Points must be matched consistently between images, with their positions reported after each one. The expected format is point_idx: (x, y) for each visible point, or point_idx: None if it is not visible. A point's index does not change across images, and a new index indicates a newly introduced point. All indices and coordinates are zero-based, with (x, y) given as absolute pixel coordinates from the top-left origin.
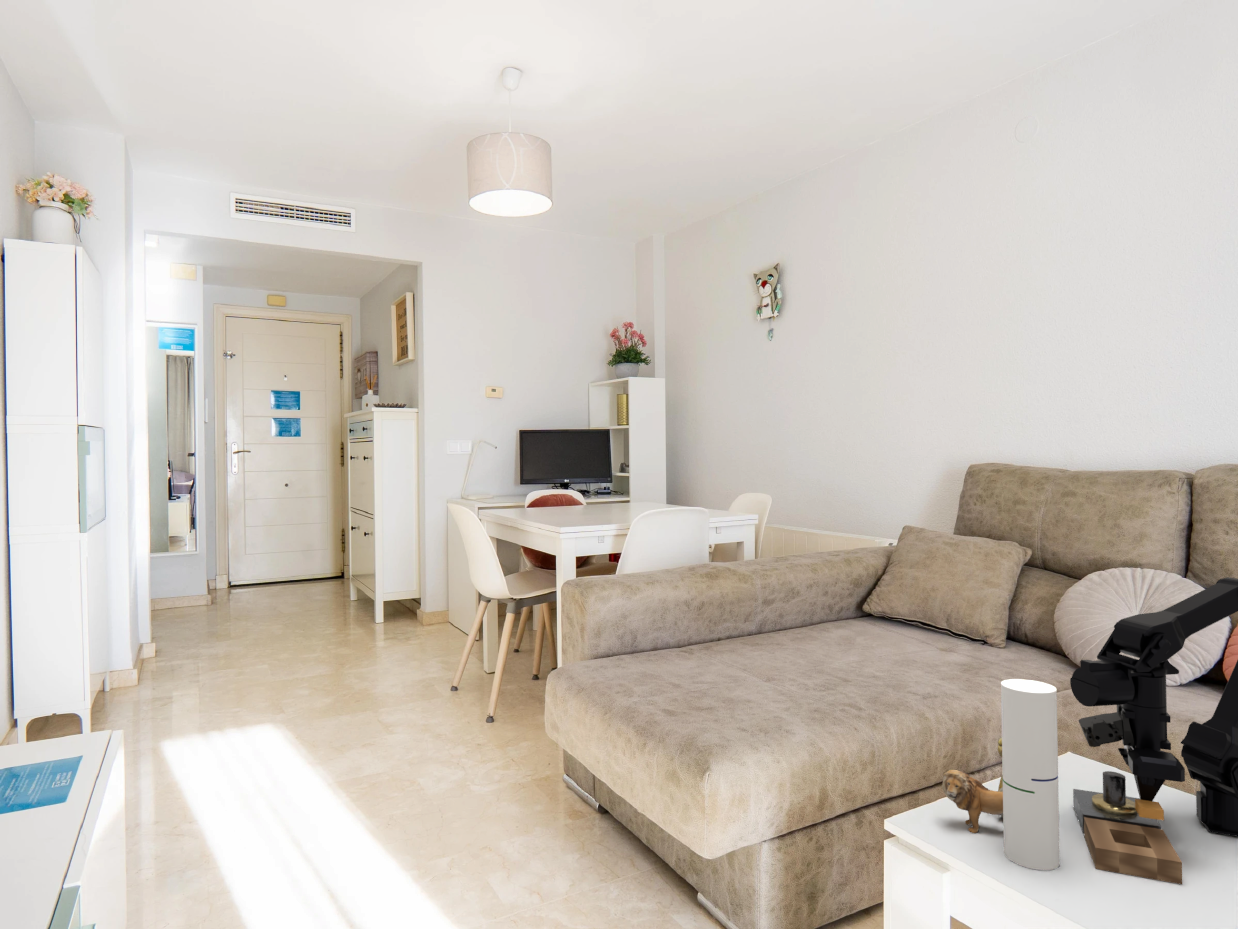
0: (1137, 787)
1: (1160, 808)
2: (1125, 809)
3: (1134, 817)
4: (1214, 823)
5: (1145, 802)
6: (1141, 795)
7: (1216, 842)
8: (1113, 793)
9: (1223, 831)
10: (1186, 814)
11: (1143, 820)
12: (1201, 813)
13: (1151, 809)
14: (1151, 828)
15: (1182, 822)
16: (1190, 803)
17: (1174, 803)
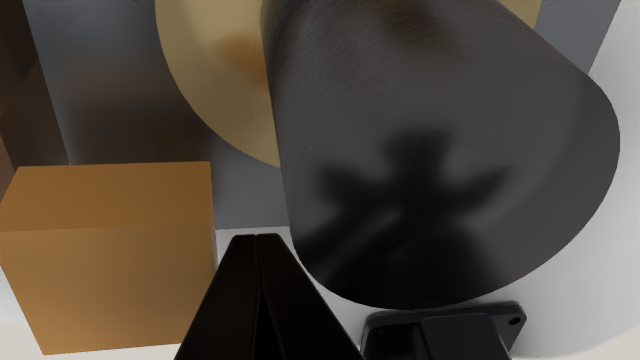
0: (292, 319)
1: (77, 344)
2: (205, 84)
3: (168, 115)
4: (404, 351)
5: (154, 279)
6: (205, 296)
7: None
8: (270, 55)
9: (365, 353)
10: (532, 277)
11: (139, 161)
12: (437, 352)
13: (23, 294)
14: (4, 186)
15: None
16: (628, 296)
17: (633, 258)
